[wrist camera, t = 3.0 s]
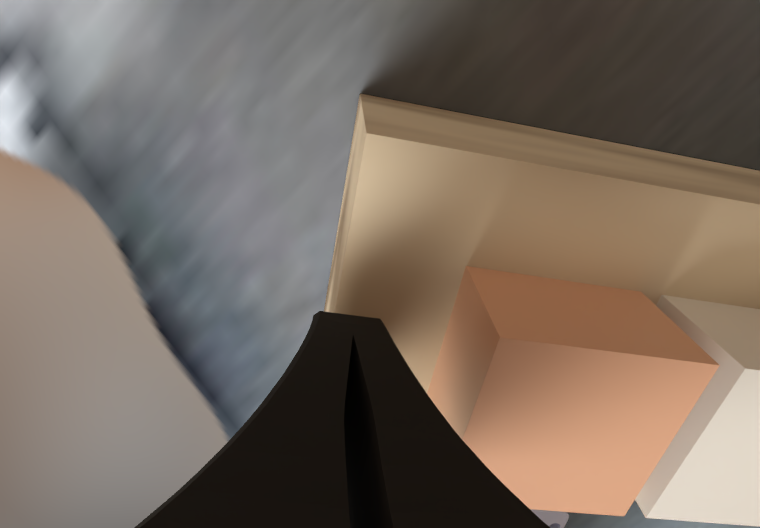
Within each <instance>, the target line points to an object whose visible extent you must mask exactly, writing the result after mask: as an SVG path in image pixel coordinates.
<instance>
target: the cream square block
mask: <svg viewBox="0 0 760 528" xmlns="http://www.w3.org/2000/svg"><path fill="white" fill-rule="evenodd" d="M656 306H657V307H658V308H659V309H660V310H661V311H662V312H663V313H664V314H665V315H667V316H668V317H669V318H670V319H671V320H672V321H673V322H674V323H675V324H676V325H677V326H678V327H679V328H680V329H682V330H683V331H684V332H685V333H686V334H687V335H688V336H689V337H690V338H691V339H692V340H693V341H694V342H695V343H697V344H698V345H699V346H700V347H701V348H702V349H703V350H704V351H705V352H706V353H707V354H708V355H709V356H710V357H711V358H713V359H714V360H715V361H716V362H717V363H718V364H719V365H720V366H719V367H718V369H717V371H716V372H715V374H714V375H713V377H712V379H711V380H710V382H709V383H708V385H707V386H706V388H705V390H704V391H703V393H702V394H701V396H700V397H699V399H698V401H697V402H696V404H695V405H694V407H693V409H692V410H691V412H690V413H689V415H688V416H687V418H686V420H685V421H684V423H683V424H682V426H681V427H680V429H679V431H678V432H677V434H676V435H675V437H674V439H673V440H672V442H671V443H670V445H669V446H668V448H667V450H666V451H665V453H664V454H663V456H662V457H661V459H660V461H659V462H658V464H657V465H656V467H655V469H654V470H653V472H652V473H651V475H650V476H649V478H648V480H647V481H646V483H645V484H644V486H643V487H642V489H641V491H640V492H639V494H638V495H637V497H636V499H635V500H636V502H637V504H638V506H639V507H640V509H641V511H642V512H643V514H644V516H645V517H646V518H653V519H667V520H680V521H693V522H706V523H720V524H733V525H746V526H760V309H755V308H748V307H742V306H735V305H728V304H721V303H714V302H708V301H701V300H694V299H687V298H681V297H674V296H667V295H661V297H660V299H659V301H658V303H657V305H656Z"/></svg>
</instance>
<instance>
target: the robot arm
mask: <svg viewBox="0 0 760 528" xmlns="http://www.w3.org/2000/svg"><path fill="white" fill-rule="evenodd" d="M568 519H569V515H568V513H567V512H560V511H547V510H534V509H529V508H528V507H527V506H526V505H525V504H524V503H523V502H522V501H521V500H520V499H519V498H518V497H516V496H515V495H514V494H513V493H512V492H511V491H510V490H509V489H508V488H507V487H506V486H505V485H504V484H503V483H502V482H501V481H500V480H499V479H498V478H497V477H496V476H495V475H494V474H493V473H492V472H491V471H490V470H489V469H488V468H487V467H486V465H485V464H484V463H483V462H482V461H481V460H480V459H479V458H478V457H477V456H476V454H475V453H474V452H473V451H472V450H471V449H470V448H469V447H468V446H467V445H466V443H465V442H464V441H463V440H462V439H461V438H460V436H459V435H458V434H457V433H456V432H455V430H454V429H453V428H452V427H451V425H450V424H449V423H448V421H447V420H446V419H445V417H444V416H443V415H442V414H441V412H440V411H439V410H438V408H437V407H436V406H435V404H434V403H433V401H432V400H431V399H430V397H429V396H428V394H427V393H426V392H425V390H424V389H423V387H422V386H421V384H420V383H419V381H418V380H417V378H416V377H415V375H414V374H413V372H412V371H411V369H410V367H409V366H408V364H407V363H406V361H405V359H404V358H403V356H402V354H401V353H400V351H399V349H398V348H397V346H396V344H395V343H394V341H393V339H392V337H391V335H390V334H389V332H388V330H387V328H386V326H385V325H384V323H383V322H382V320H381V319H379V318H371V317H363V316H355V315H347V314H339V313H331V312H323V311H319V312H318V313H316V314H315V315H314V316H313V321H312V324H311V326H310V329H309V331H308V333H307V335H306V338H305V339H304V341H303V343H302V345H301V347H300V349H299V350H298V352H297V354H296V355H295V357H294V358H293V360H292V362H291V363H290V365H289V366H288V368H287V369H286V371H285V373H284V374H283V375H282V377H281V378H280V380H279V381H278V382H277V384H276V385H275V386H274V388H273V389H272V390H271V392H270V393H269V394H268V396H267V397H266V398H265V400H264V401H263V402H262V404H261V405H260V406H259V407H258V409H257V410H256V411H255V412H254V413H253V415H252V416H251V417H250V418H249V419H248V420H247V422H246V423H245V424H244V425H243V426H242V427H241V428H240V430H239V431H238V432H237V433H236V434H235V435H234V436H233V437H232V438H231V439H230V440H229V442H228V443H227V444H226V445H225V446H224V447H223V448H222V449H221V450H220V451H219V452H218V453H217V454H216V455H215V456H214V457H213V458H212V459H211V460H210V461H209V462H208V463H207V464H206V465H205V466H204V467H203V468H202V469H201V470H200V471H199V472H198V473H197V474H196V475H195V476H193V477H192V478H191V479H190V480H189V481H188V482H187V483H186V484H185V485H184V486H183V487H182V488H181V489H180V490H178V491H177V492H176V493H175V494H174V495H173V496H172V497H170V498H169V499H168V500H167V501H166V502H164V503H163V504H162V505H161V506H160V507H159V508H157V509H156V510H155V511H154V512H153V513H151V514H150V515H149V516H148V517H147V518H145V519H144V520H143V521H142V522H141V523H140V524H138V525H137V526H136V527H135V528H564V526H565V525H566V523H567V521H568Z"/></svg>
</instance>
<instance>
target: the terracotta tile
mask: <svg viewBox="0 0 760 528" xmlns="http://www.w3.org/2000/svg"><path fill="white" fill-rule="evenodd" d="M719 366H720V365H719V364H718V363H717V362H716V361H715V360H714V359H713V358H711V357H710V356H709V355H708V354H707V353H706V352H705V351H704V350H703V349H702V348H701V347H700V346H699V345H698V344H697V343H695V342H694V341H693V340H692V339H691V338H690V337H689V336H688V335H687V334H686V333H685V332H684V331H683V330H682V329H680V328H679V327H678V326H677V325H676V324H675V323H674V322H673V321H672V320H671V319H670V318H669V317H668V316H667V315H665V314H664V313H663V312H662V311H661V310H660V309H659V308H658V307H657V306H656V305H655V304H654V303H653V302H652V301H651V300H649V299H648V298H647V297H646V296H645V295H644V294H643V293H642V292H640V291H633V290H626V289H619V288H613V287H606V286H599V285H592V284H586V283H579V282H572V281H565V280H558V279H552V278H545V277H538V276H531V275H524V274H518V273H511V272H504V271H497V270H491V269H484V268H477V267H470V266H466V267H465V271H464V274H463V277H462V280H461V284H460V287H459V290H458V293H457V297H456V300H455V303H454V307H453V310H452V313H451V316H450V320H449V323H448V326H447V330H446V333H445V336H444V339H443V343H442V346H441V349H440V353H439V356H438V359H437V362H436V366H435V369H434V372H433V376H432V379H431V382H430V385H429V389H428V392H427V394H428V396H429V397H430V399H431V400H432V401H433V403H434V404H435V406H436V407H437V408H438V410H439V411H440V412H441V414H442V415H443V416H444V417H445V419H446V420H447V421H448V423H449V424H450V425H451V427H452V428H453V429H454V430H455V432H456V433H457V434H458V435H459V436H460V438H461V439H462V440H463V441H464V442H465V443H466V445H467V446H468V447H469V448H470V449H471V450H472V451H473V452H474V453H475V454H476V456H477V457H478V458H479V459H480V460H481V461H482V462H483V463H484V464H485V465H486V467H487V468H488V469H489V470H490V471H491V472H492V473H493V474H494V475H495V476H496V477H497V478H498V479H499V480H500V481H501V482H502V483H503V484H504V485H505V486H506V487H507V488H508V489H509V490H510V491H511V492H512V493H513V494H514V495H515V496H516V497H518V498H519V499H520V500H521V501H522V502H523V503H524V504H525V505H526V506H527V507H528V508H529V509H534V510H547V511H560V512H574V513H587V514H600V515H614V516H625V514H626V513H627V511H628V510H629V508H630V506H631V505H632V503H633V502H634V500H635V499H636V497H637V495H638V494H639V492H640V491H641V489H642V487H643V486H644V484H645V483H646V481H647V480H648V478H649V476H650V475H651V473H652V472H653V470H654V469H655V467H656V465H657V464H658V462H659V461H660V459H661V457H662V456H663V454H664V453H665V451H666V450H667V448H668V446H669V445H670V443H671V442H672V440H673V439H674V437H675V435H676V434H677V432H678V431H679V429H680V427H681V426H682V424H683V423H684V421H685V420H686V418H687V416H688V415H689V413H690V412H691V410H692V409H693V407H694V405H695V404H696V402H697V401H698V399H699V397H700V396H701V394H702V393H703V391H704V390H705V388H706V386H707V385H708V383H709V382H710V380H711V379H712V377H713V375H714V374H715V372H716V371H717V369H718V367H719Z"/></svg>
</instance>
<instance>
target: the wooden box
mask: <svg viewBox="0 0 760 528" xmlns="http://www.w3.org/2000/svg"><path fill="white" fill-rule="evenodd" d="M466 266H470V267H477V268H484V269H491V270H497V271H504V272H511V273H518V274H524V275H531V276H538V277H545V278H552V279H558V280H565V281H572V282H579V283H586V284H592V285H599V286H606V287H613V288H619V289H626V290H633V291H640V292H642V293H643V294H644V295H645V296H646V297H647V298H648V299H649V300H651V301H652V302H653V303H654V304H655V305H657V303H658V301H659V299H660V297H661V295H667V296H674V297H681V298H687V299H694V300H701V301H708V302H714V303H721V304H728V305H735V306H742V307H748V308H755V309H760V171H758V170H753V169H748V168H743V167H738V166H732V165H727V164H722V163H717V162H712V161H707V160H701V159H696V158H691V157H686V156H681V155H675V154H670V153H665V152H660V151H655V150H650V149H644V148H639V147H634V146H629V145H624V144H619V143H613V142H608V141H603V140H598V139H593V138H588V137H582V136H577V135H572V134H567V133H562V132H556V131H551V130H546V129H541V128H536V127H531V126H525V125H520V124H515V123H510V122H505V121H500V120H494V119H489V118H484V117H479V116H474V115H469V114H463V113H458V112H453V111H448V110H443V109H438V108H432V107H427V106H422V105H417V104H412V103H406V102H401V101H396V100H391V99H386V98H381V97H375V96H370V95H365V94H360V96H359V102H358V108H357V115H356V121H355V127H354V133H353V139H352V145H351V151H350V157H349V163H348V169H347V175H346V181H345V187H344V193H343V199H342V205H341V211H340V218H339V224H338V230H337V236H336V242H335V248H334V254H333V260H332V266H331V272H330V278H329V284H328V290H327V296H326V302H325V308H324V312H331V313H339V314H347V315H355V316H363V317H371V318H379V319H381V320H382V322H383V323H384V325H385V326H386V328H387V330H388V332H389V334H390V335H391V337H392V339H393V341H394V343H395V344H396V346H397V348H398V349H399V351H400V353H401V354H402V356H403V358H404V359H405V361H406V363H407V364H408V366H409V367H410V369H411V371H412V372H413V374H414V375H415V377H416V378H417V380H418V381H419V383H420V384H421V386H422V387H423V389H424V390H425V392H426V393H427V392H428V389H429V385H430V382H431V379H432V376H433V372H434V369H435V366H436V362H437V359H438V356H439V353H440V349H441V346H442V343H443V339H444V336H445V333H446V330H447V326H448V323H449V320H450V316H451V313H452V310H453V307H454V303H455V300H456V297H457V293H458V290H459V287H460V284H461V280H462V277H463V274H464V271H465V267H466Z"/></svg>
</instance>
